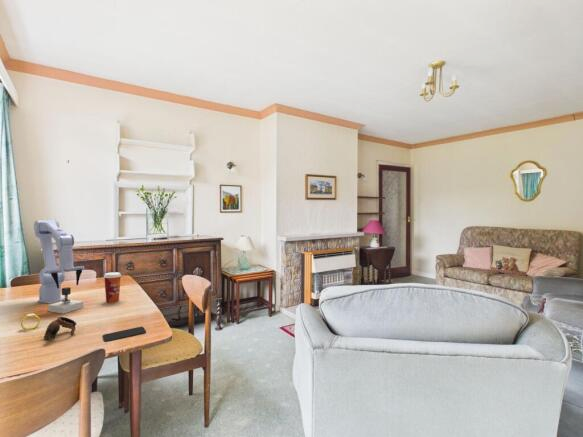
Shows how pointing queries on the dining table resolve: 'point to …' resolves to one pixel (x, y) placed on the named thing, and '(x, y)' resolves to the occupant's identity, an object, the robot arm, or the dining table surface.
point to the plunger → (66, 294)
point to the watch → (30, 316)
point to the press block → (65, 306)
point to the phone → (123, 334)
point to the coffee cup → (112, 286)
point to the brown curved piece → (55, 327)
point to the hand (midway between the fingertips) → (67, 286)
